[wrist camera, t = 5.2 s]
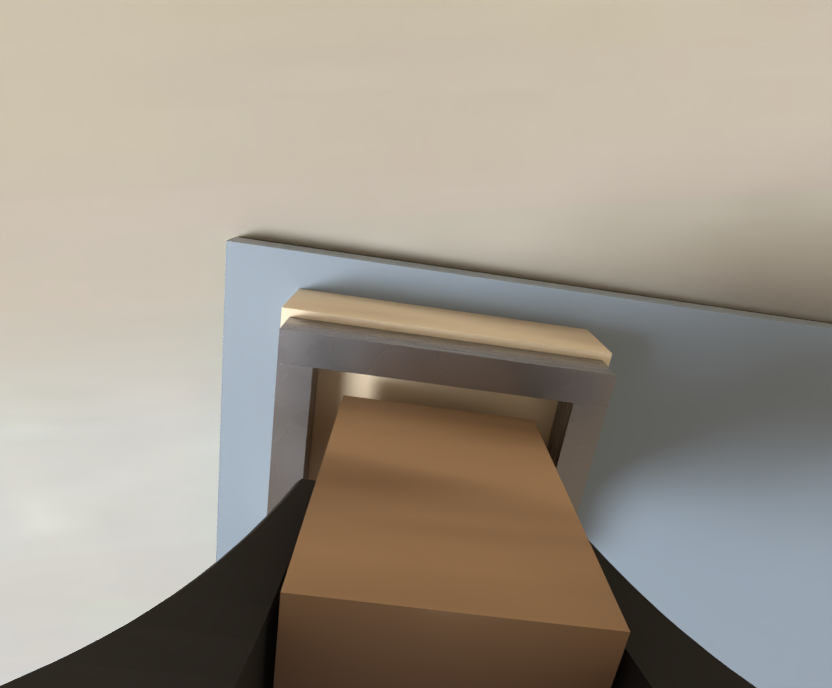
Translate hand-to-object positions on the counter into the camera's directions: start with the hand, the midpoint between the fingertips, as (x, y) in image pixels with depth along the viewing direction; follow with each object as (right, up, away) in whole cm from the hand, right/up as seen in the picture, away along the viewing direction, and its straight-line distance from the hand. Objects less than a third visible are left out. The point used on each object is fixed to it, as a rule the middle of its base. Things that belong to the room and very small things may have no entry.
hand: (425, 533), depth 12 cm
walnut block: (0, +1, +1) cm, 2 cm away
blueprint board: (+4, -2, +6) cm, 8 cm away
